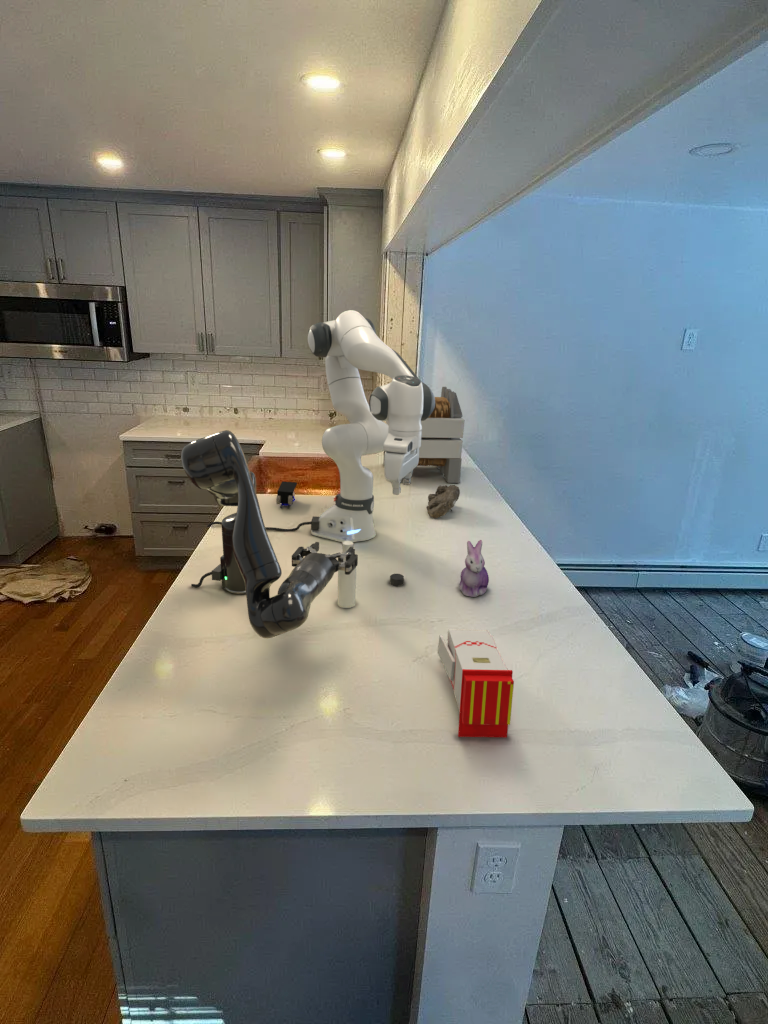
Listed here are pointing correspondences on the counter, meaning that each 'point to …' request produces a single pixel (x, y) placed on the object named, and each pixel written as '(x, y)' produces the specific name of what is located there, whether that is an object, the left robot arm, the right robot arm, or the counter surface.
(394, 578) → the cap
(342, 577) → the bottle
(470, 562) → the figurine
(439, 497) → the fossil
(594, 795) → the counter surface
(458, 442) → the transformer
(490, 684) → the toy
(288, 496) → the figurine character
